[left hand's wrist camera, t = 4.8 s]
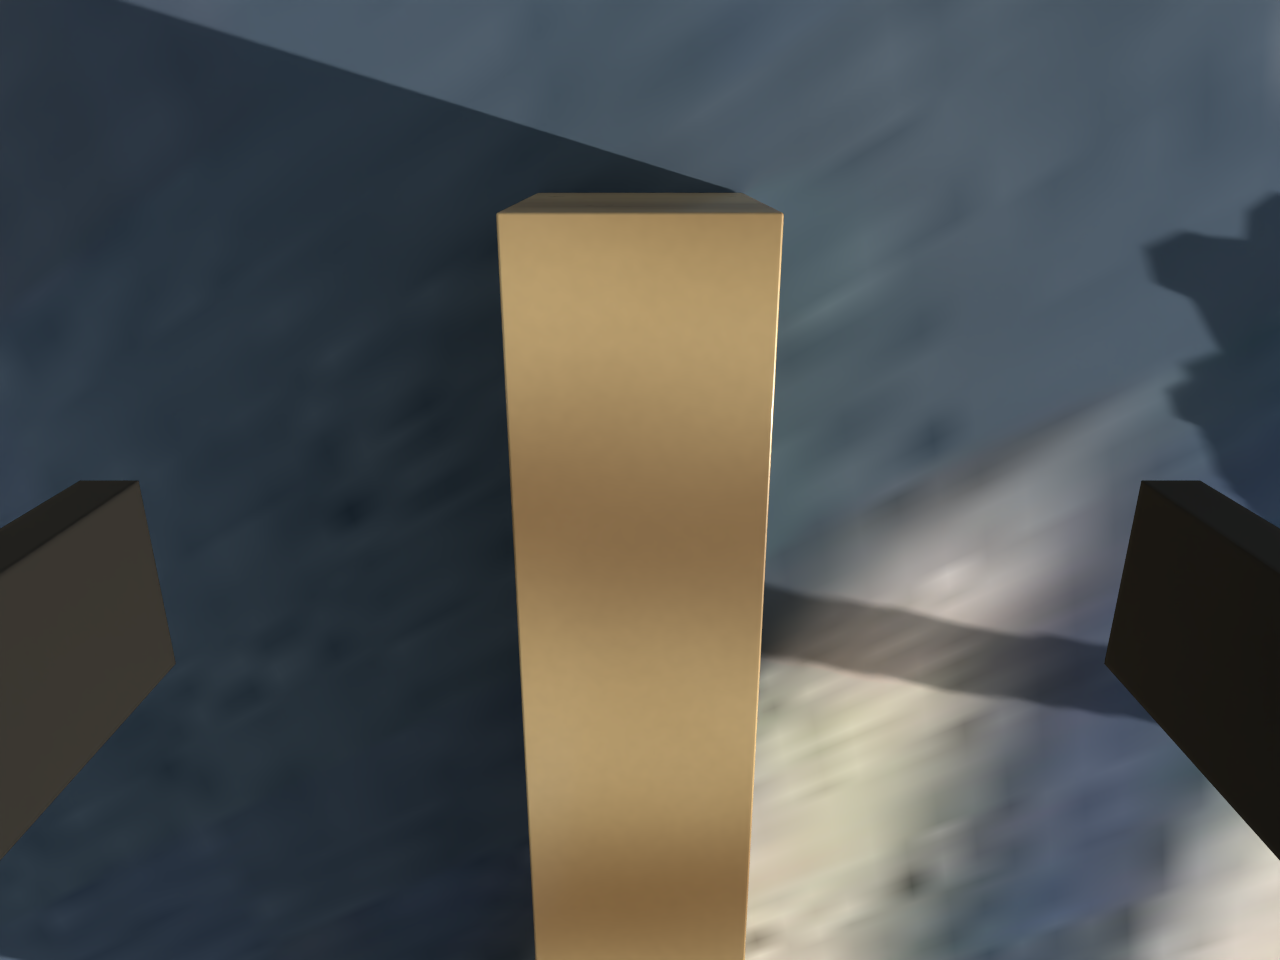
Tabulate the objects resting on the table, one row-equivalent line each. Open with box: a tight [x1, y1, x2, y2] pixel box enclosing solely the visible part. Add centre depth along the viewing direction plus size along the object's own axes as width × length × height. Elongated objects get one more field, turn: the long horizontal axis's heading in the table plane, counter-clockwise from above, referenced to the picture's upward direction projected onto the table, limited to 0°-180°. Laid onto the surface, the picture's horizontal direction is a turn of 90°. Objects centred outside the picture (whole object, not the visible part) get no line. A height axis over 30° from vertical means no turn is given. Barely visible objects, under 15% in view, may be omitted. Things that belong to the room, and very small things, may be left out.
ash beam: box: [496, 193, 784, 960], centre depth 29 cm, size 36×6×8 cm, turn 0°
